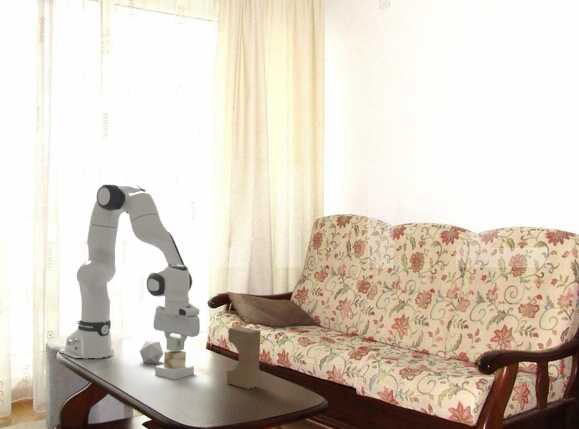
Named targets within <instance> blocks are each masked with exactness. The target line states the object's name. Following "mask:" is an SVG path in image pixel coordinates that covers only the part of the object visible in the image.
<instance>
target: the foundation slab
mask: <svg viewBox="0 0 579 429" xmlns="http://www.w3.org/2000/svg"><path fill="white" fill-rule="evenodd" d="M154 368H155V372H154V374H155V376H160V377H164V378H167V379H170V380H171V379H172V380H179V379H182V378H185V377H189V376H192V375H195V366H194V365H190V364H186V363H185V367H181V368H177V369H173V368H168V367H164V363H163V364H159V365H156V366H155V367H154Z"/></svg>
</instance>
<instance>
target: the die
mask: <svg viewBox="0 0 579 429" xmlns="http://www.w3.org/2000/svg"><path fill="white" fill-rule="evenodd" d="M162 348H163V347H162V346H161V342H160V341H152V340H151V341H148V340H147V341H145V342H144V344H143V346H142V347H141V348H140V350H139V354H140V357H141V358H142V361H143V364H153V365H155V364H157V365H158V363H159V362H160V360H161V359H162V357H163V356H164V352H163V349H162Z"/></svg>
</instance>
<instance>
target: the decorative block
mask: <svg viewBox="0 0 579 429" xmlns="http://www.w3.org/2000/svg"><path fill="white" fill-rule="evenodd" d="M227 339H228V340H227V341H228V342H229V343H232V345H233V346H234V347H235V349H236V351H237V353H238V363H237V364H236V366H235V367H234V368H230V369H228V370H227V371H226V383H227V384H228V385H232V386H236V387H238V386H239V388H243V389H245V388H246V389H245V390H251V389H250V388H252V389H254V388H253V387H256V386H258V387H259V382H260V381H259V379H260V378H259V377H260V376H259V375H260V355H261V354H260V353H261V351H260V350H261V330H257V329H253V328H249V327H243V326H234V327H228V338H227ZM256 388H257V387H256Z"/></svg>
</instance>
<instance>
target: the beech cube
mask: <svg viewBox="0 0 579 429" xmlns="http://www.w3.org/2000/svg"><path fill="white" fill-rule="evenodd" d="M186 355H187V352H186V351H185V350H180V351H176V352H175V351H171V350H166V351H164V352H163V357H164V360H163V364H164V367H168V368H173V369H177V368H181V367H185V364H186Z"/></svg>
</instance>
